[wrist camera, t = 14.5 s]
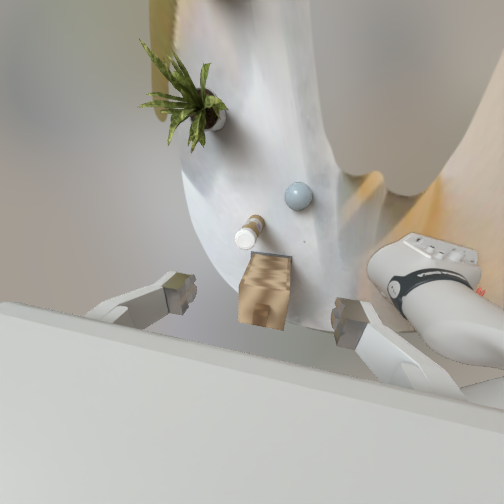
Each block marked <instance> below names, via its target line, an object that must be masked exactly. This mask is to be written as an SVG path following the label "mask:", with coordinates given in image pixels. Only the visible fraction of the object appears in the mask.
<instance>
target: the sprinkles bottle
mask: <svg viewBox="0 0 504 504" xmlns="http://www.w3.org/2000/svg"><path fill="white" fill-rule="evenodd" d="M263 227H264V220H263V218H262V217H261V216H259V215H253V216H251V217H250V218H249V220H248V221H247V222H246V223H245V225H244V226H243V227H242V228H241V229H240V230H239V231H238V232H237V234H236V235H235V243H236V245H237V246H238V247H239V248H241V249H244V250H249V249H251V248H253V247H254V245H255V243H256V241H257V238H258V236H259V234H260V232H261V230H262V228H263Z"/></svg>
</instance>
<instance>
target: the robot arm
mask: <svg viewBox="0 0 504 504" xmlns="http://www.w3.org/2000/svg"><path fill="white" fill-rule="evenodd" d="M417 239H419V240H418V241H416V240H417ZM477 262H478V253H477V252H476V251H475V250H473V249H470V248H466V247H463V246H459V245H456V244H452V243H449V242H445V241H442V240H438V239H435V238H431V237H428V236H424V235H421V234H417V233H410V234H408V235H406V236H405V237H404V238H402V239H401V240H400V241H398V242H395V243H393V244H390V245H387V246H385V247H384V248H382V249H380V250H379V251H378V252H376V253H375V254H374V255H373V257H372V258H371V259H370V261H369V263H368V267H367V274H368V277H369V279H370V280H371V282H372V283H373V284H375V285H376V286H377V287H378V288H379V291H380V293H381V294H382V295H383V296H384V297H387V298H388V299H389V300H390V301H391V302H392V303H393V304H394V306H395V307H396V308H397V310H398V312H399V313H400V314H401V315H402V316H403V317H404V318H405V319H406V320H408V321H409V322H410V323H411V325H412V326H413V327H414V329H415V330H416V331H417V333H418V334H419V335H420V337H421V338H422V339H423V341H424V342H425V343H426V345H427V346H428V347H429V348H431V349H432V350H433V351H435V352H436V353H438V354H439V355H441V356H443V357H445V358H448V359H451V360H453V361H456V362H459V363H463V364H467V365H475V366H484V367H492V368H498V369H502V370H504V309H502V308H500V307H499V306H497V305H495V304H493V303H492V302H490V301H489V300H487V299H485V298H484V297H482V296H483V295H484V293H485V290H484V291H483V292H482V293H481V289H482V288H478V290H477V291H476V292H475V291H474V289H475V288H476V286H477V285H478V283H479V281H480V278H481V269H480V267H479V266H477ZM195 281H196V278H195V275H193V274H188V273H182V272H177V271H169V272H168V273H166V274H165V275H164V276H163V277H162V278H161V279H159V280H158V281H157V282H156V283H155V284H153V285H149V286H146V287H143V288H140V289H138V290H135V291H132V292H129V293H126V294H123V295H120V296H117V297H114V298H112V299H109V300H106V301H103V302H102V303H100V304H99V305H98V306H96V307H95V308H93V309H92V310H91V311H89V312H88V313H87V314H85V315H84V316H77V315H73V314H68V313H63V312H59V311H55V310H50V309H46V308H41V307H36V306H32V305H28V304H24V303H19V302H2V303H0V504H504V376H503V377H499V378H496V379H492V380H488V381H484V382H480V383H476V384H473V385H469V386H465V387H461V388H458V386H457V385H456V384H455V383H454V381H453V380H452V378H451V377H450V376H449V374H448V373H447V372H446V371H445V370H444V369H443V368H442V367H440V366H439V365H438V364H436V363H435V362H434V361H432V360H431V359H430V358H428V357H427V356H426V355H424V354H423V353H422V352H420V351H419V350H418V349H416V348H415V347H414V346H412V345H411V344H410V343H408V342H407V341H406V340H404V339H403V338H402V337H400V336H399V335H398V334H396V333H395V332H394V331H392V330H391V329H390V328H388V327H387V326H383V324H382V322H381V321H380V319H379V317H378V315H377V314H376V312H375V310H374V308H373V307H372V305H371V303H370V302H368V301H361V300H351V299H345V298H338V297H337V299H336V301H335V306H336V308H334V309H333V310H332V314H331V324H332V328H333V329H334V330H335V333H334V337H335V341H336V345H337V346H339V347H344V348H349V349H353V350H355V351H356V353H357V354H358V355H359V356H360V357H361V359H362V360H363V361H364V362H365V364H366V365H367V366H368V367H369V368H370V370H371V371H372V372H373V373H374V375H375V376H376V377H377V378H378V379H379V381H380V382H376V381H372V380H367V379H362V378H358V377H354V376H349V375H345V374H340V373H335V372H331V371H326V370H322V369H317V368H313V367H308V366H303V365H299V364H295V363H290V362H285V361H281V360H276V359H272V358H268V357H263V356H258V355H254V354H250V353H245V352H241V351H236V350H232V349H227V348H222V347H218V346H213V345H209V344H204V343H199V342H195V341H190V340H186V339H181V338H177V337H172V336H168V335H163V334H159V333H154V332H150V331H145V330H143V329H145V328H146V327H148V326H150V325H151V324H153V323H155V322H156V321H158V320H159V319H161V318H163V317H164V316H166V315H168V314H169V313H172V314H178V315H183V314H184V313H185V311H186V310H187V309H188V307H189V306H188V304H189V303H191V302H193V300H194V299H195V297H196V294H197V287H196V285H195V284H194V282H195ZM480 293H481V294H480Z"/></svg>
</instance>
